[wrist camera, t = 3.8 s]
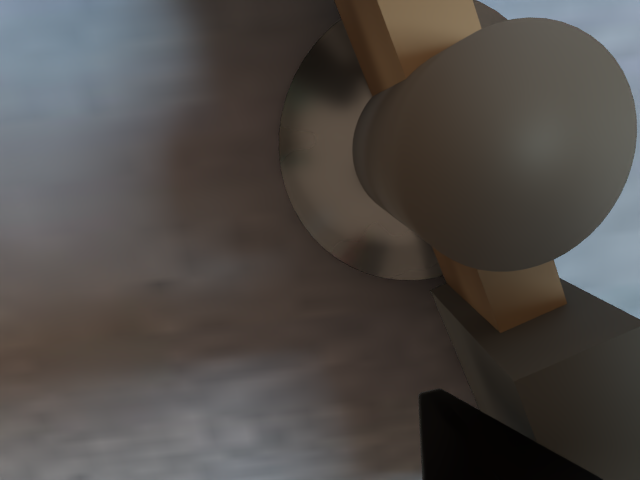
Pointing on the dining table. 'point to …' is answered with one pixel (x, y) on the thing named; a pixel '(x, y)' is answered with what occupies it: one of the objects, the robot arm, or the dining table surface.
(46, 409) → the dining table surface
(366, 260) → the pivot disc
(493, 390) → the flipper
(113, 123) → the dining table surface
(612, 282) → the dining table surface
